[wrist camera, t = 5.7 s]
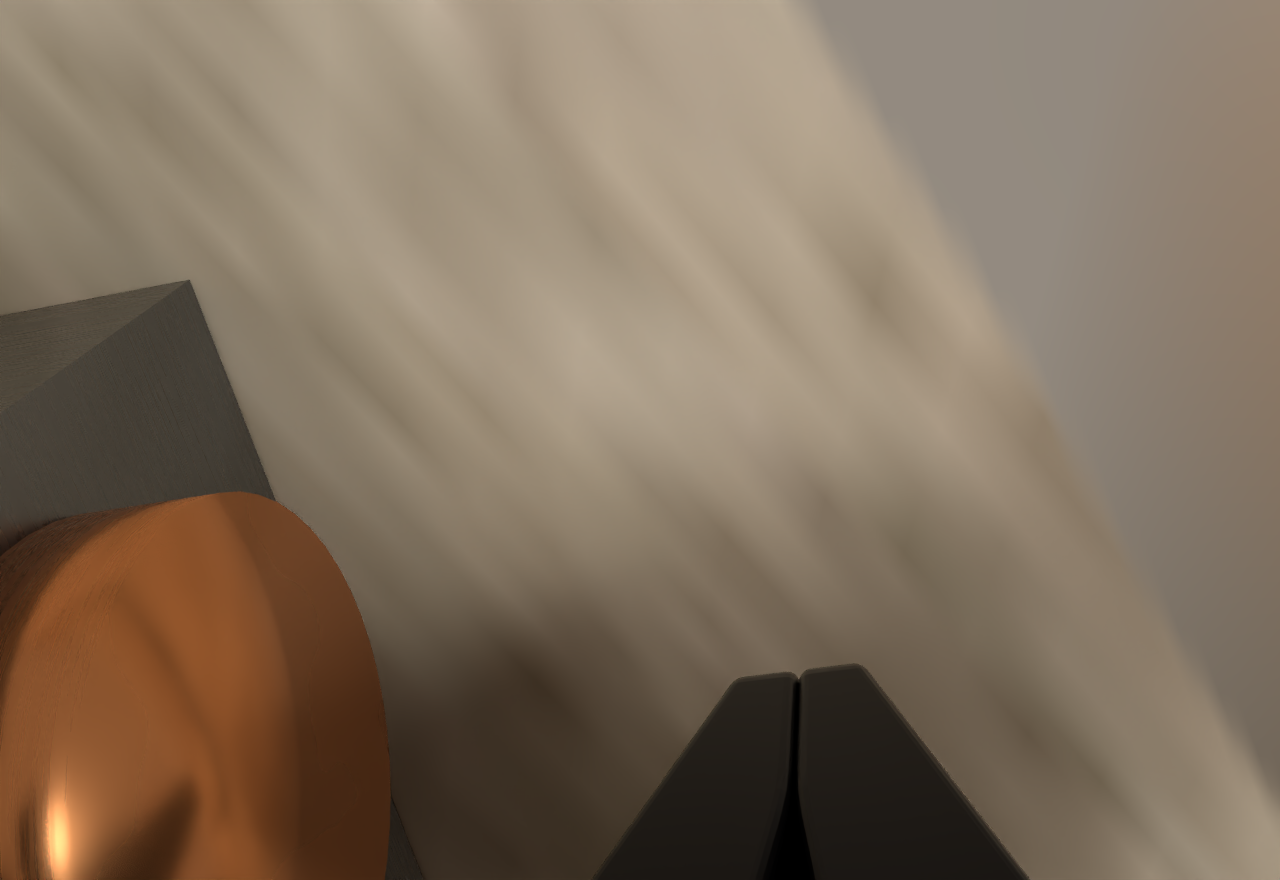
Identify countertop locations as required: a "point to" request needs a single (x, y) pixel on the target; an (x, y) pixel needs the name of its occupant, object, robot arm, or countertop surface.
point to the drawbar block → (124, 423)
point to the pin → (187, 701)
